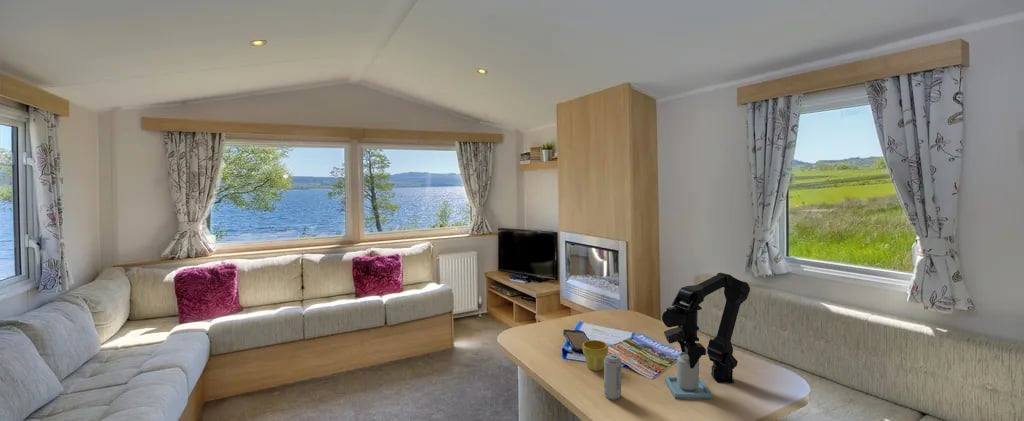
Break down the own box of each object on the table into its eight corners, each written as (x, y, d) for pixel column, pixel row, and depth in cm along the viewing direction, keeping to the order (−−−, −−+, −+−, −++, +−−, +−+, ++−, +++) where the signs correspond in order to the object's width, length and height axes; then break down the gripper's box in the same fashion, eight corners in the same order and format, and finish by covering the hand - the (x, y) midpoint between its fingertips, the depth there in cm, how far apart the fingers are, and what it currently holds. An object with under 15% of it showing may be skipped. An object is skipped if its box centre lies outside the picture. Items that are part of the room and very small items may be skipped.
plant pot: (582, 361, 184) (582, 339, 183) (606, 362, 182) (606, 340, 181) (583, 372, 173) (582, 349, 173) (609, 373, 172) (609, 350, 171)
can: (700, 392, 154) (701, 360, 153) (678, 390, 155) (679, 358, 154) (696, 382, 161) (696, 351, 160) (675, 380, 163) (675, 350, 161)
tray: (699, 381, 164) (699, 377, 164) (712, 399, 151) (712, 394, 151) (664, 380, 165) (664, 376, 165) (674, 398, 152) (674, 393, 152)
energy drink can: (606, 390, 159) (607, 351, 157) (623, 394, 156) (623, 354, 154) (601, 398, 154) (601, 357, 152) (618, 402, 151) (618, 361, 149)
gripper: (659, 313, 166) (659, 352, 167) (673, 331, 147) (673, 375, 149) (689, 313, 165) (688, 352, 166) (707, 332, 146) (706, 375, 148)
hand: (688, 363), depth 157 cm, fingers closed on can, 7 cm apart
